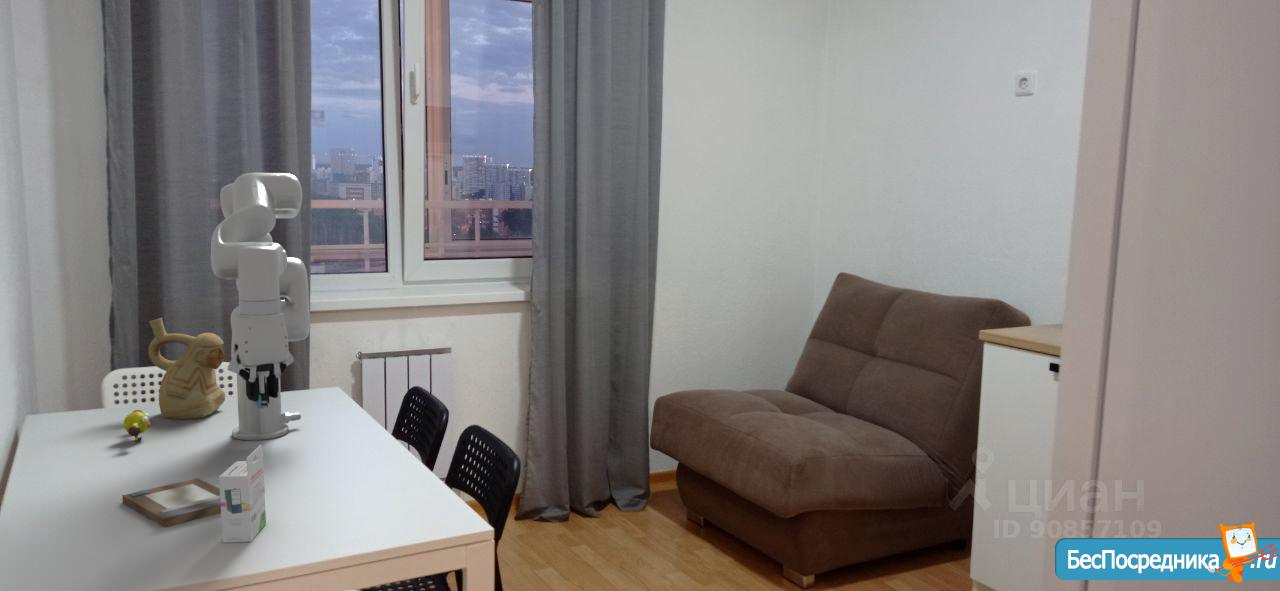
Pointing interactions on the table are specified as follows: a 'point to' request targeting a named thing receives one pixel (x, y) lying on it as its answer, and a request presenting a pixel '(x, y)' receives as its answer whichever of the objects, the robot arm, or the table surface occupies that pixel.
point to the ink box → (243, 499)
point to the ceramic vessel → (188, 374)
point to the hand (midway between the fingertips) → (262, 397)
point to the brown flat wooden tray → (176, 502)
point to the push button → (262, 385)
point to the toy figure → (136, 423)
